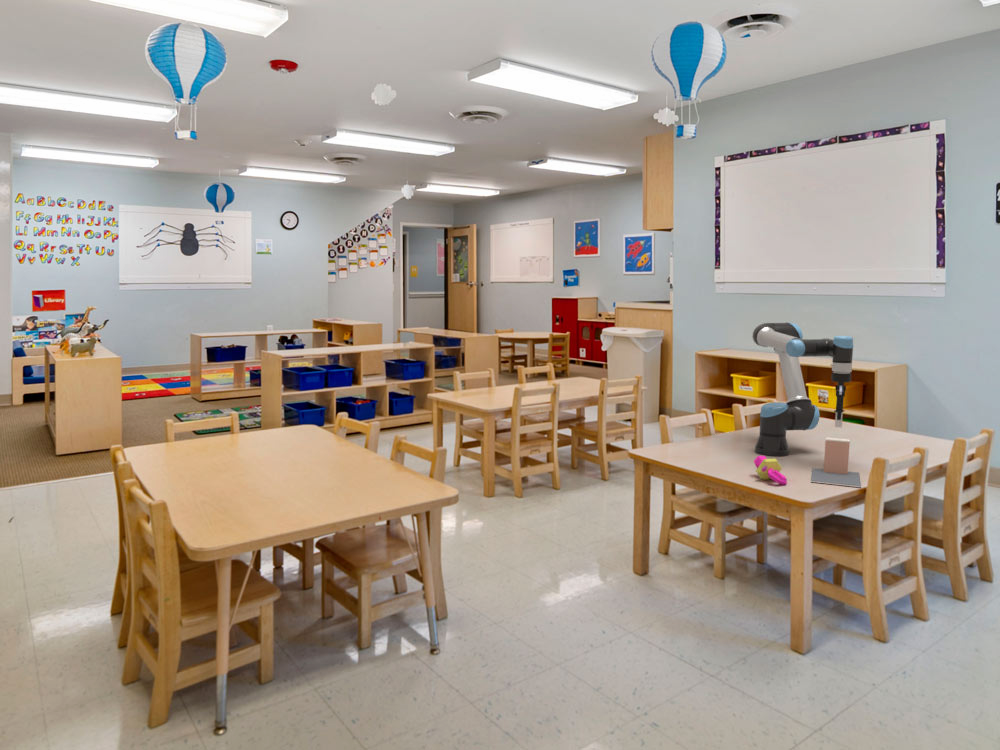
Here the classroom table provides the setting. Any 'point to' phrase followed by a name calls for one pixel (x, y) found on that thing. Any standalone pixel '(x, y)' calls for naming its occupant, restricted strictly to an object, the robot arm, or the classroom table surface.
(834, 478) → the slate mat
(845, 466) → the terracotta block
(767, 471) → the toy
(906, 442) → the classroom table surface
